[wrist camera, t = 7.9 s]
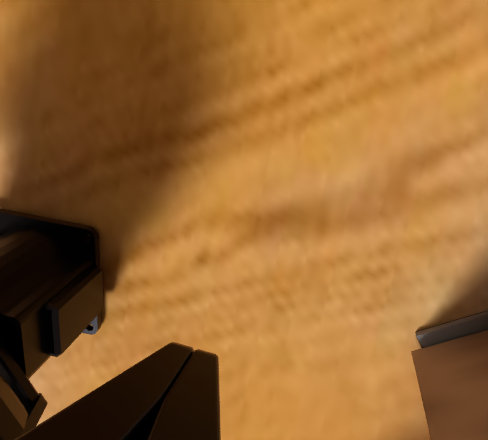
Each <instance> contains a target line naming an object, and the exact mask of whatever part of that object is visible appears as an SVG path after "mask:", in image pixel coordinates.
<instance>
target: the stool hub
mask: <svg viewBox="0 0 488 440" xmlns="http://www.w3.org/2000/svg"><path fill="white" fill-rule="evenodd" d="M415 333H416V337H417V339H418V341H419V343H420V345H421V347H422V349H418V350H415V351H411V352H412V357H413V361H414V366H415V370H416V374H417V379H418V383H419V388H420V392H421V397H422V401H423V405H424V410H425V414H426V419H427V423H428V428H429V432H430V437H431V440H488V311H486V312H483V313H479V314H476V315H472V316H469V317H466V318H462V319H459V320H455V321H452V322H449V323H445V324H442V325H438V326H435V327H432V328H428V329H425V330H422V331H418V332H415Z"/></svg>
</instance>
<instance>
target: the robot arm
mask: <svg viewBox="0 0 488 440" xmlns="http://www.w3.org/2000/svg"><path fill="white" fill-rule="evenodd" d="M86 234H88V235H89V236H90V238H91V240H90V239H88V238H87V237H86ZM102 310H103V281H102V270H101V268H100V253H99V234H98V232H97V230H96V229H95V228H93V227H91V226H86V225H81V224H76V223H71V222H66V221H61V220H56V219H50V218H45V217H40V216H35V215H30V214H25V213H20V212H14V211H9V210H4V209H0V440H221V435H220V398H219V361H218V356H217V355H216V354H213V353H210V352H206V351H203V350H199V349H198V350H195V351H194V349H193V348H192V347H189V346H186V345H182V344H179V343H175V342H172V343H169V344H167V345H166V346H164V347H163V348H161V349H159V350H158V351H156V352H155V353H153V354H151V355H150V356H148V357H147V358H145V359H143V360H142V361H140V362H139V363H137V364H135V365H134V366H132V367H131V368H129V369H127V370H126V371H124V372H123V373H121V374H119V375H118V376H116V377H115V378H113V379H111V380H110V381H108V382H107V383H105V384H103V385H102V386H100V387H99V388H97V389H95V390H94V391H92V392H91V393H89V394H87V395H86V396H84V397H82V398H81V399H79V400H78V401H76V402H74V403H73V404H71V405H70V406H68V407H66V408H65V409H63V410H62V411H60V412H58V413H57V414H55V415H54V416H52V417H50V418H49V419H47V420H46V421H44V422H42V423H41V424H39V425H38V426H36V425H37V423H38V421H39V419H40V417H41V415H42V413H43V411H44V410H45V408H46V406H47V401H46V400H45V398H44V397H43V396H42V394H41V393H39V394H38V392H37V391H36V390H35V388H34V387H33V385H32V384H31V382H30V381H29V378H30V377H31V376H32V375H33V374H34V373H35V372H36V371H37V370H38V369H39V368H40V367H41V366H42V365H43V363H44V362H45V361H46V360H47V359H48V358H49V357H50V356H55V357H58V356H59V355H61V354H62V353H63V352H64V351H65V350H66V349H67V348H68V347H69V346H70V345H71V344H72V342H73V341H74V340H75V339H76V338H77V337H78V336H79V335H80V334H81V333H86V334H92V335H93V334H95V333H96V332H97V331H98V330H99V329H100V327H101V311H102ZM90 324H92V326H91V325H90Z"/></svg>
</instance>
